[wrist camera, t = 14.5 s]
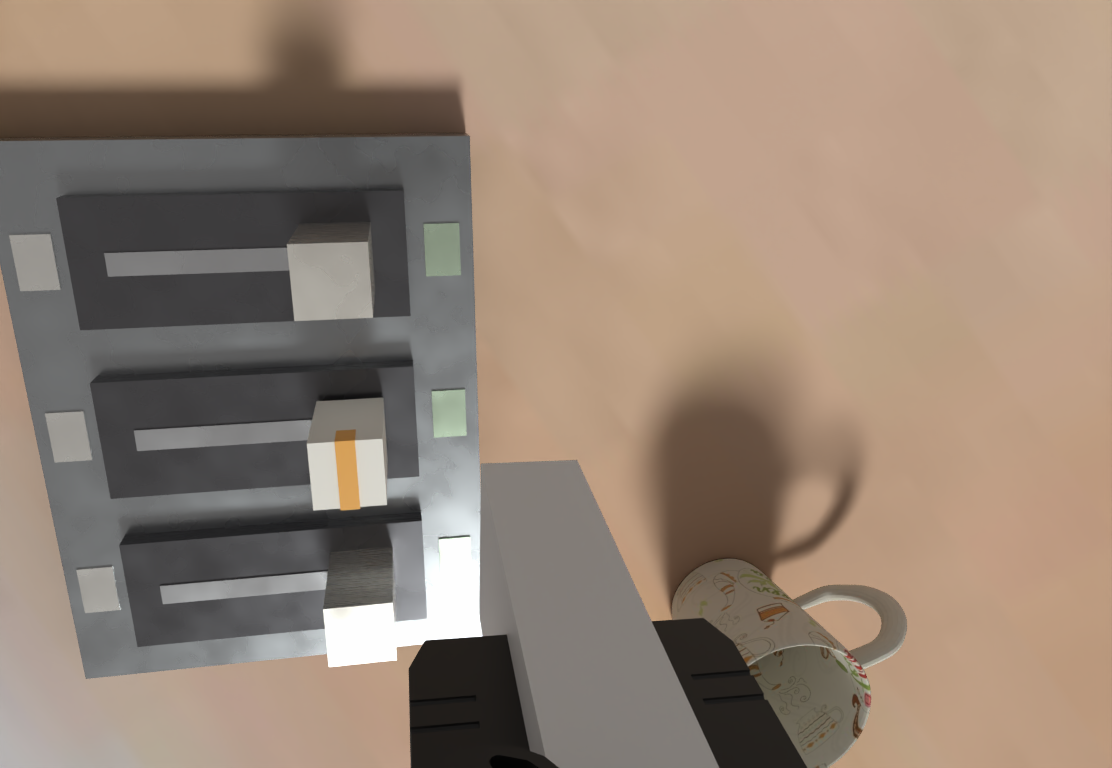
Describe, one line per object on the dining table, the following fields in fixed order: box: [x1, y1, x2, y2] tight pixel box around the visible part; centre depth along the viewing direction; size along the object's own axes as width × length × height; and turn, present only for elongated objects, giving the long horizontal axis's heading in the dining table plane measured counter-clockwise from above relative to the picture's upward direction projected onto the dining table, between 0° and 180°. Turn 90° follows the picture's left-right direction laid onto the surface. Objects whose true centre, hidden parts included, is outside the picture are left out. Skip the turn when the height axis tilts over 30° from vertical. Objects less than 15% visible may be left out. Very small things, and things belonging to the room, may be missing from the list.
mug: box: [672, 559, 907, 768], centre depth 48 cm, size 8×13×10 cm, turn 108°
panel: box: [0, 133, 482, 679], centre depth 40 cm, size 26×20×8 cm
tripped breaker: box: [307, 398, 387, 511], centre depth 39 cm, size 3×3×5 cm
